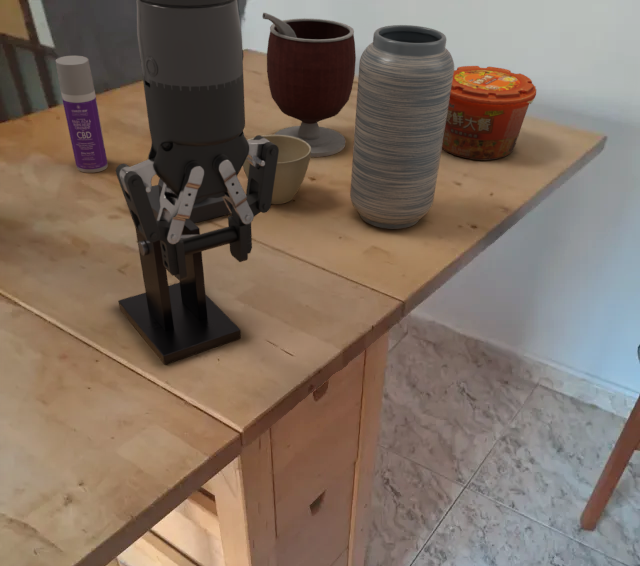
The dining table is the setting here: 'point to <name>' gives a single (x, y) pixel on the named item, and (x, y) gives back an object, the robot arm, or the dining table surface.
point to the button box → (199, 211)
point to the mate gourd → (311, 76)
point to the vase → (400, 124)
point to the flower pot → (287, 166)
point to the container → (82, 113)
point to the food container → (486, 112)
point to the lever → (209, 240)
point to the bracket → (176, 306)
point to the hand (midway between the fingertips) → (209, 265)
